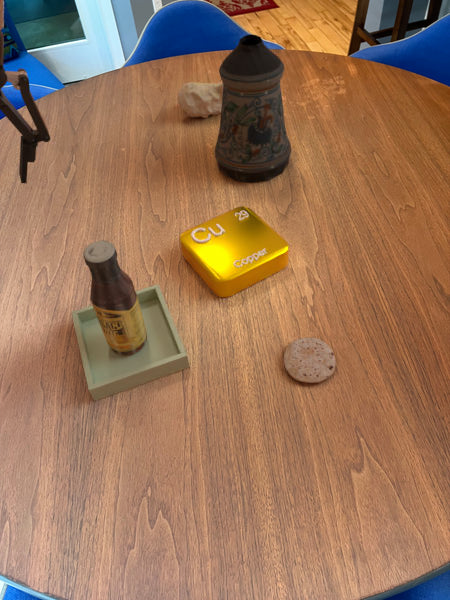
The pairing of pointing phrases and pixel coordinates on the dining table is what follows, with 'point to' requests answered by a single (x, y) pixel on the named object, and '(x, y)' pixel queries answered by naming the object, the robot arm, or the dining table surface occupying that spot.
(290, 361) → the flatbread
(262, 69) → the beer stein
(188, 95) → the beige rock
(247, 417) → the dining table surface
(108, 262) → the sauce bottle
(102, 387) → the serving tray
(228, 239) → the element tile
